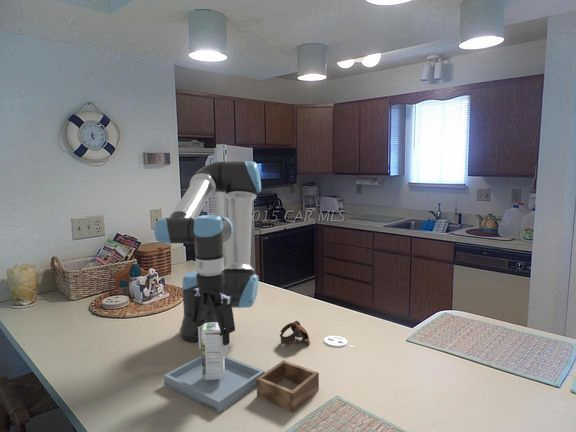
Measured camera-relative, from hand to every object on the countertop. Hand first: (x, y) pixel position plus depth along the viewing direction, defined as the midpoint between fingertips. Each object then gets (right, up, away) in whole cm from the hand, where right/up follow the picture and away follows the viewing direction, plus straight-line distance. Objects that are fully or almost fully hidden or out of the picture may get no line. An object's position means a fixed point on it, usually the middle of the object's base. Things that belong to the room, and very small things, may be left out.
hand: (213, 350), depth 113 cm
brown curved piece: (+24, -6, +26) cm, 35 cm away
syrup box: (0, -7, +1) cm, 7 cm away
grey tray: (0, -10, +1) cm, 10 cm away
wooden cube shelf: (+21, -10, -4) cm, 24 cm away
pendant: (+39, -6, +25) cm, 46 cm away
